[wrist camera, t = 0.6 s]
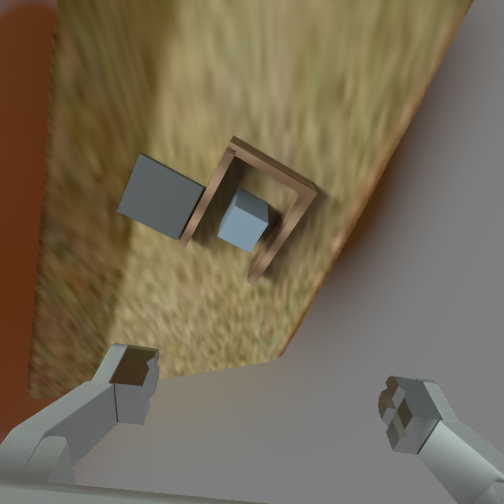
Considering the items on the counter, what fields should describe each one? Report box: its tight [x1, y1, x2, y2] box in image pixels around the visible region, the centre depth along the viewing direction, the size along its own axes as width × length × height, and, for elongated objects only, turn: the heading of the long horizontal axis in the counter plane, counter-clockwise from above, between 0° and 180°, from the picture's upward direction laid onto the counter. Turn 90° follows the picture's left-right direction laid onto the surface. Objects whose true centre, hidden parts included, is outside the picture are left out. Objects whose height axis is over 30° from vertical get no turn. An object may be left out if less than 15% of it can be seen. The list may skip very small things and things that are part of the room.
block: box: [217, 187, 268, 253], centre depth 47 cm, size 5×5×8 cm
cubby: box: [176, 136, 318, 285], centre depth 48 cm, size 17×13×5 cm
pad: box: [118, 153, 204, 240], centre depth 50 cm, size 10×10×1 cm
